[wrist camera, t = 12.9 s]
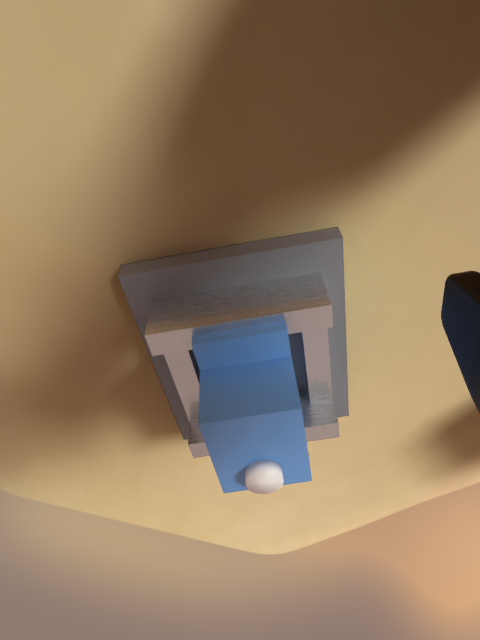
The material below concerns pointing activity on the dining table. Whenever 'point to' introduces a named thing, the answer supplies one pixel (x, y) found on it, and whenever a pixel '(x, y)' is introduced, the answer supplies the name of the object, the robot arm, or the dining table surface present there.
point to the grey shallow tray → (247, 318)
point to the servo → (251, 408)
